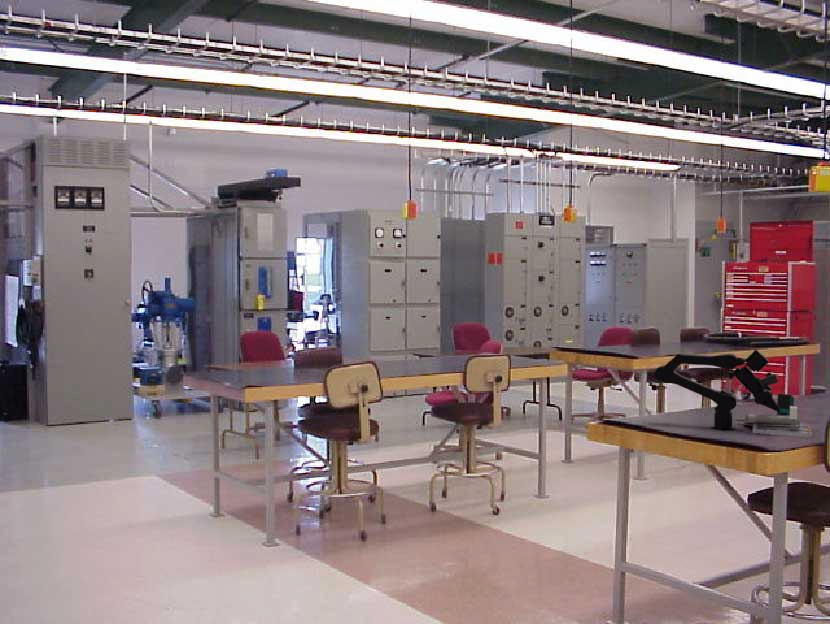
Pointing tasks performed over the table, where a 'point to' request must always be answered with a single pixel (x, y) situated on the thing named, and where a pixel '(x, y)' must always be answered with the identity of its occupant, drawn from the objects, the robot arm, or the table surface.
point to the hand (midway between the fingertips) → (779, 411)
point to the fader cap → (793, 416)
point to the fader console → (782, 431)
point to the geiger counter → (767, 420)
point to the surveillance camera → (785, 404)
